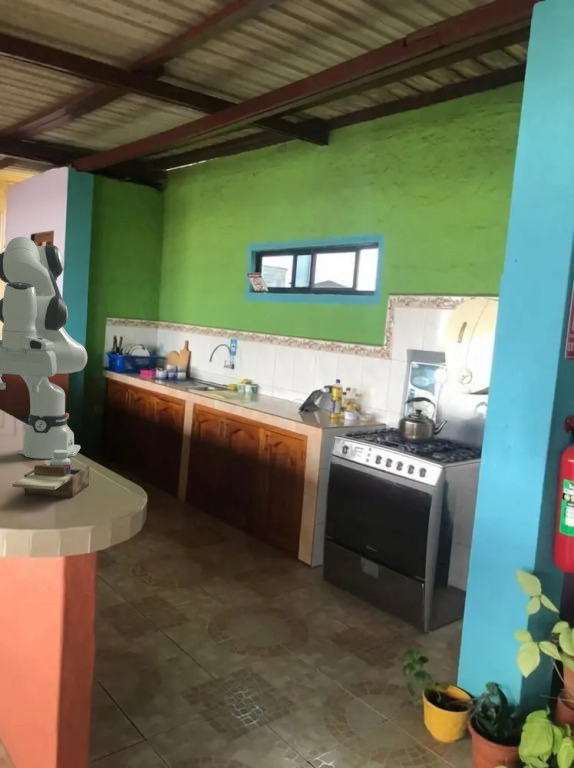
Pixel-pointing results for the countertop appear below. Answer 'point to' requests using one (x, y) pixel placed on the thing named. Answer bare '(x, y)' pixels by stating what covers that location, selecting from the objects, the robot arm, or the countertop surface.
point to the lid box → (65, 490)
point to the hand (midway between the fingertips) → (18, 390)
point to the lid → (44, 477)
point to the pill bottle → (61, 459)
